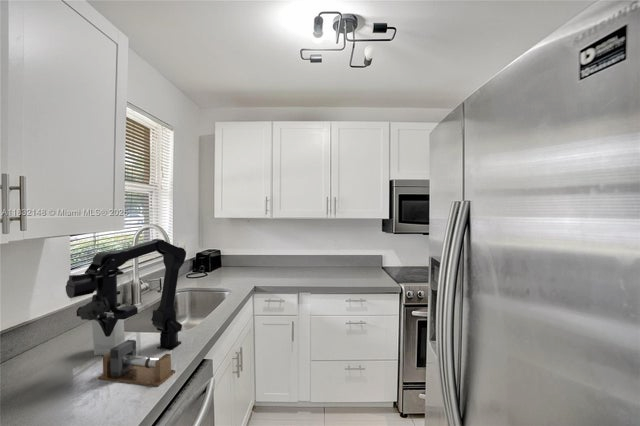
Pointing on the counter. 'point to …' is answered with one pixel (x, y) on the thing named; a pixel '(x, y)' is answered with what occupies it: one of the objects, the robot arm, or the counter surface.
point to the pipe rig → (140, 370)
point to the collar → (118, 353)
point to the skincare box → (107, 343)
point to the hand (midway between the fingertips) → (108, 336)
